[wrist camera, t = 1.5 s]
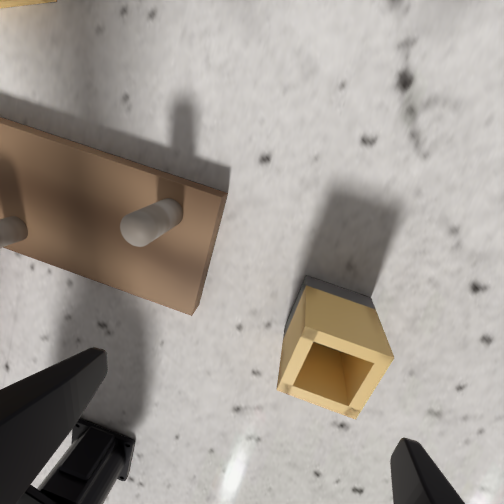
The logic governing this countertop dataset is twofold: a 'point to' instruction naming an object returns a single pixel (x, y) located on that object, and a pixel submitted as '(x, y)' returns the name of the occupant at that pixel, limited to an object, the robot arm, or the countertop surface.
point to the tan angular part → (21, 2)
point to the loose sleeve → (333, 348)
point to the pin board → (106, 217)
